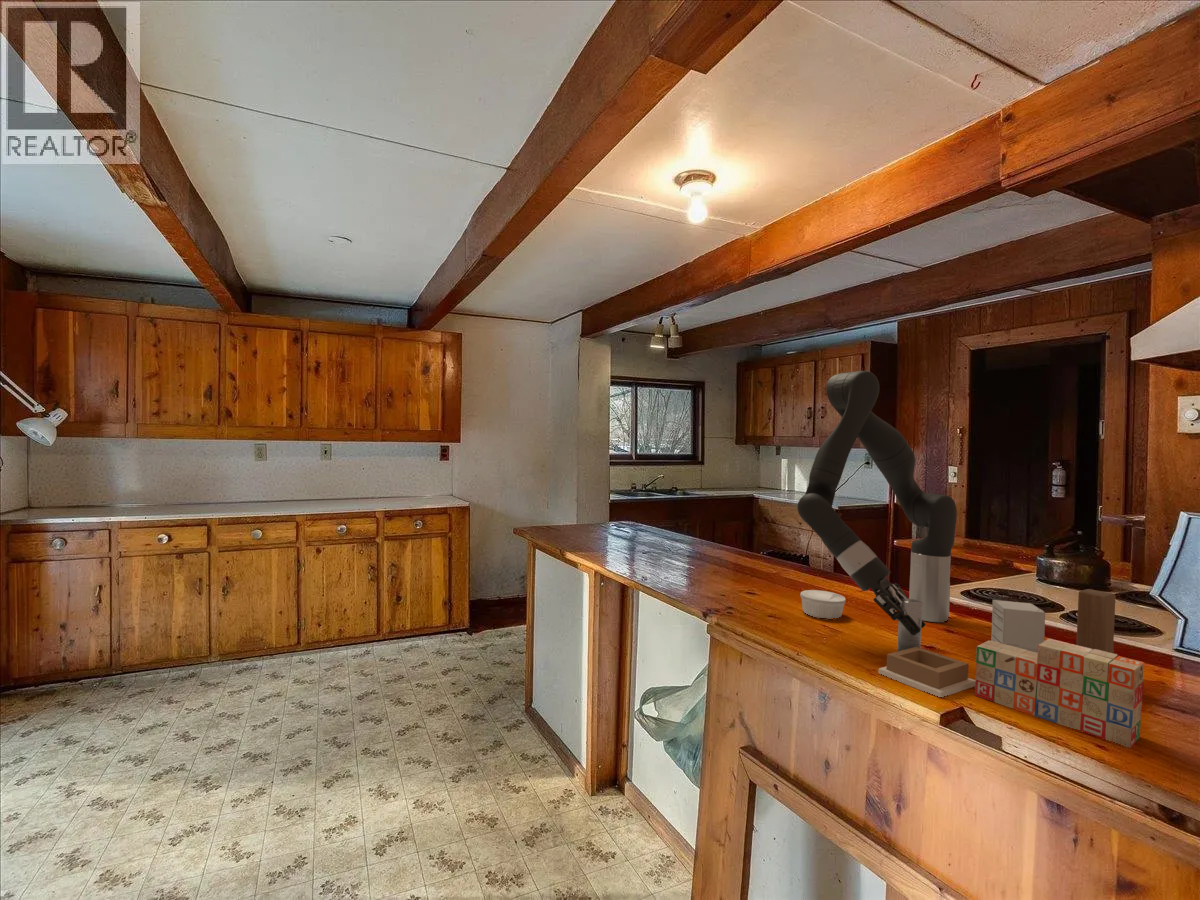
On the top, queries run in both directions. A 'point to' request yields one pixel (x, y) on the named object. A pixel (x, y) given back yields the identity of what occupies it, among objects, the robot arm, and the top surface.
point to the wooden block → (1096, 620)
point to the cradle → (928, 671)
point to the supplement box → (1018, 624)
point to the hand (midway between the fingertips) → (919, 630)
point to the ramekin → (822, 603)
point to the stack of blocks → (1065, 686)
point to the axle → (904, 635)
